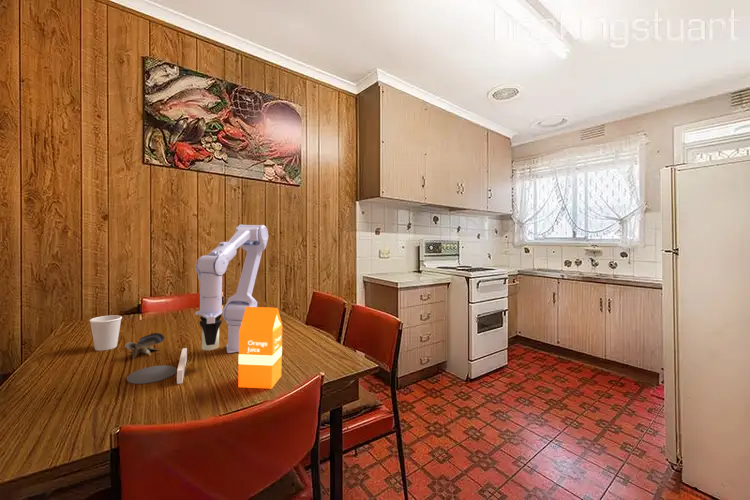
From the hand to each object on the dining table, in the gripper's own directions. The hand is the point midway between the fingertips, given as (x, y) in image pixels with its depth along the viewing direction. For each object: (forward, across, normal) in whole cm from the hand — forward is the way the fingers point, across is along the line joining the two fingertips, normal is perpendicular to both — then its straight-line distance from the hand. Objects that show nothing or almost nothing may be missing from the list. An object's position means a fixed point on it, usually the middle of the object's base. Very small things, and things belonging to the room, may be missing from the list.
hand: (210, 341), depth 92 cm
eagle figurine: (+8, -19, -18) cm, 27 cm away
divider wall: (+7, 0, -7) cm, 10 cm away
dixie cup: (+8, -31, -31) cm, 44 cm away
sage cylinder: (+2, 0, 0) cm, 2 cm away
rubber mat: (+7, 0, -14) cm, 16 cm away
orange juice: (+8, +16, +12) cm, 21 cm away
